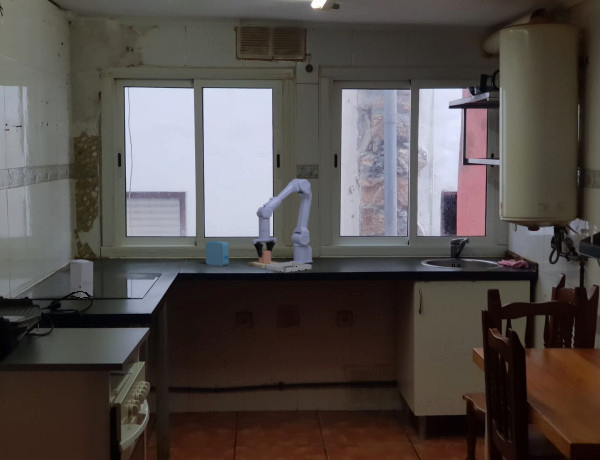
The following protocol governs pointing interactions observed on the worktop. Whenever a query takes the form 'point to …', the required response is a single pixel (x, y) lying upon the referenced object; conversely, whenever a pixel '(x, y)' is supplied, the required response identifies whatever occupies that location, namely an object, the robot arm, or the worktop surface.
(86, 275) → the skincare box
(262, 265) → the board
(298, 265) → the tray
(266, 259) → the terracotta block
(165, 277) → the worktop surface
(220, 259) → the data package
